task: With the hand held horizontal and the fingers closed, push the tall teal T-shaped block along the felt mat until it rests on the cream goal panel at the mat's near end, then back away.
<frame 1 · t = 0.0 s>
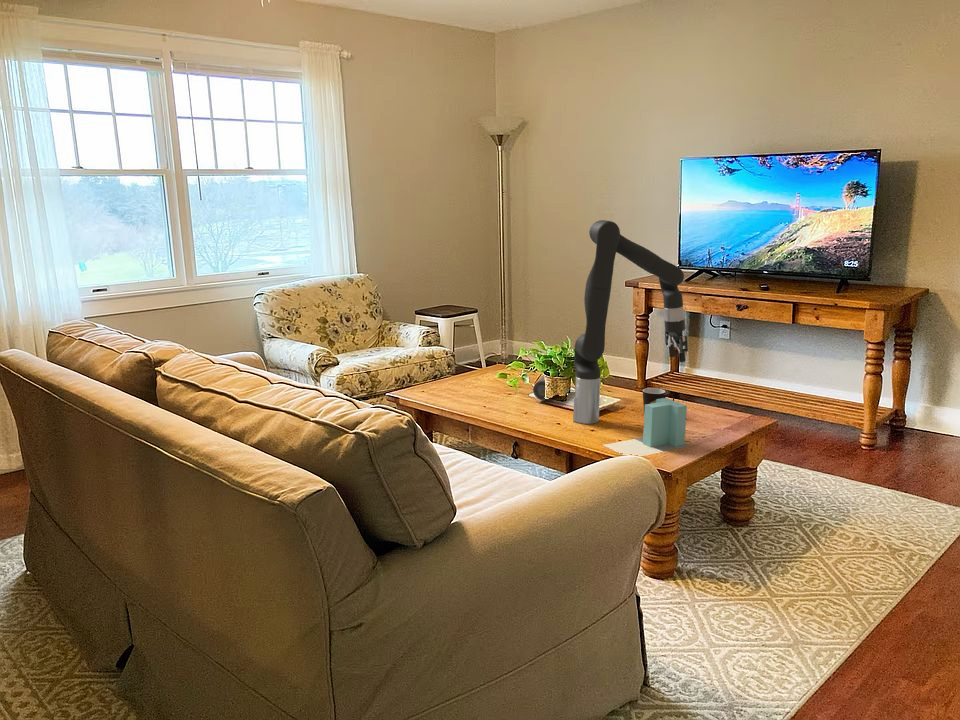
hand: (677, 359, 302), 22 cm above the table, tool pointing down, fingers open, 8 cm apart
bluetooth speaker: (550, 397, 333), on the table
felt mat: (650, 446, 271), on the table
tee block: (669, 441, 274), point 1 cm above the table, touching felt mat
coffee mug: (656, 416, 306), on the table
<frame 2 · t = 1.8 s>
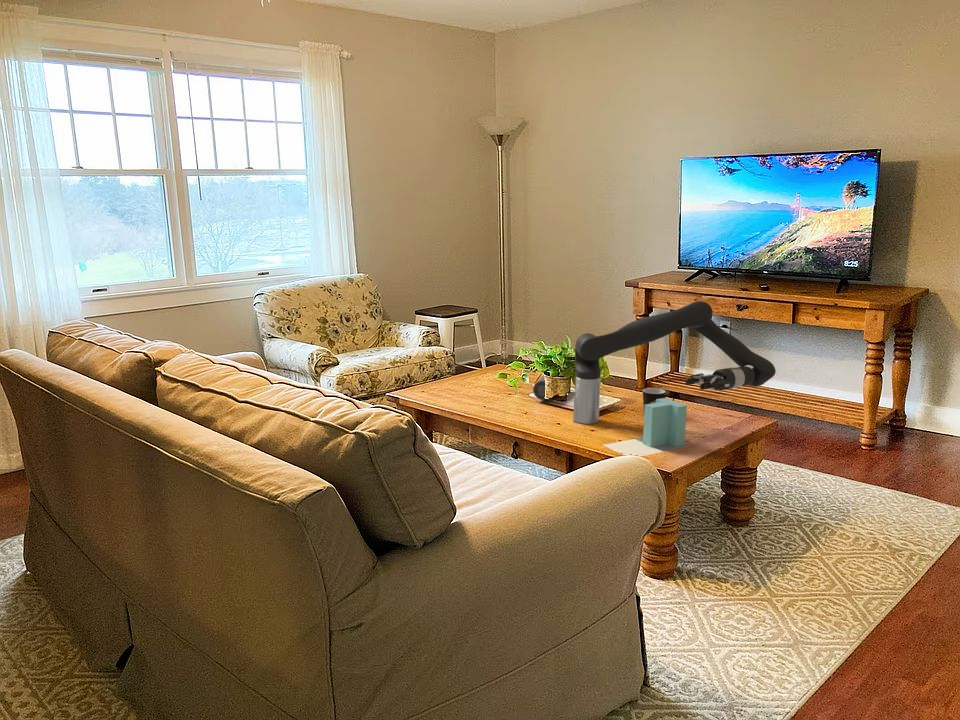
hand: (693, 384, 274), 20 cm above the table, tool horizontal, fingers open, 6 cm apart
nothing on the table moved.
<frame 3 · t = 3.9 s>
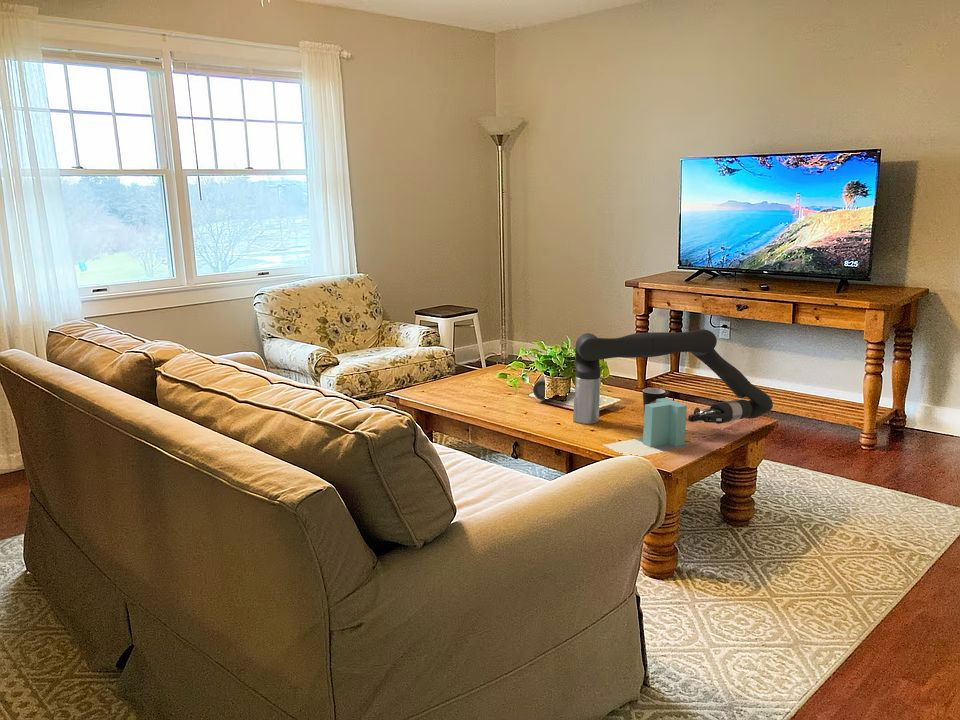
hand: (689, 418, 277), 8 cm above the table, tool horizontal, fingers closed
nothing on the table moved.
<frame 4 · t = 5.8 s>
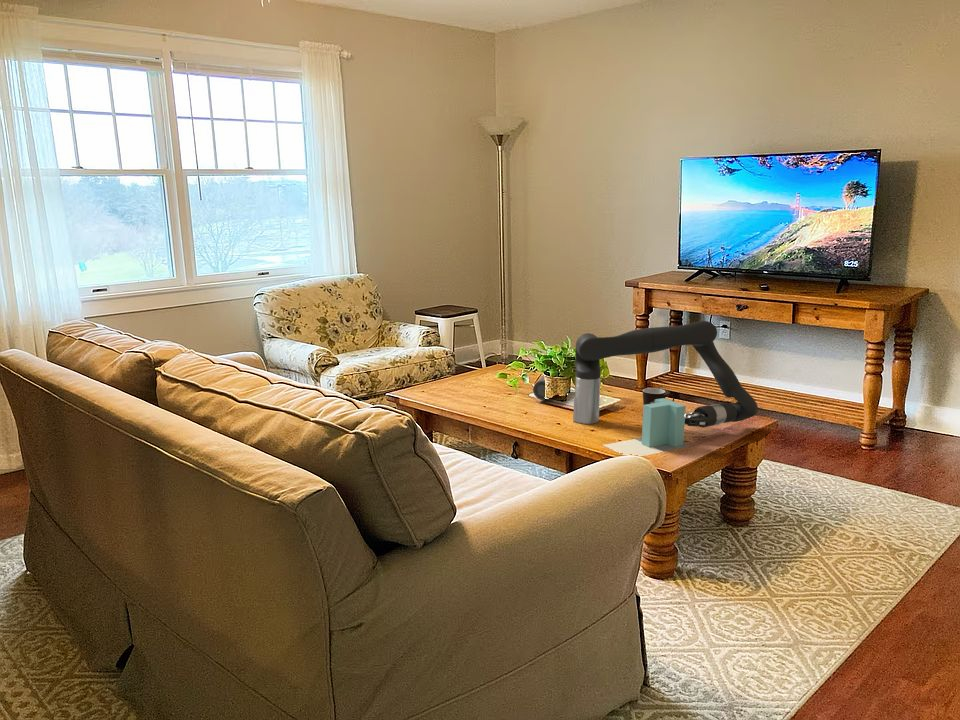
hand: (673, 422, 273), 7 cm above the table, tool horizontal, fingers closed
tee block: (667, 441, 274), point 1 cm above the table, touching gripper
everything else where it was.
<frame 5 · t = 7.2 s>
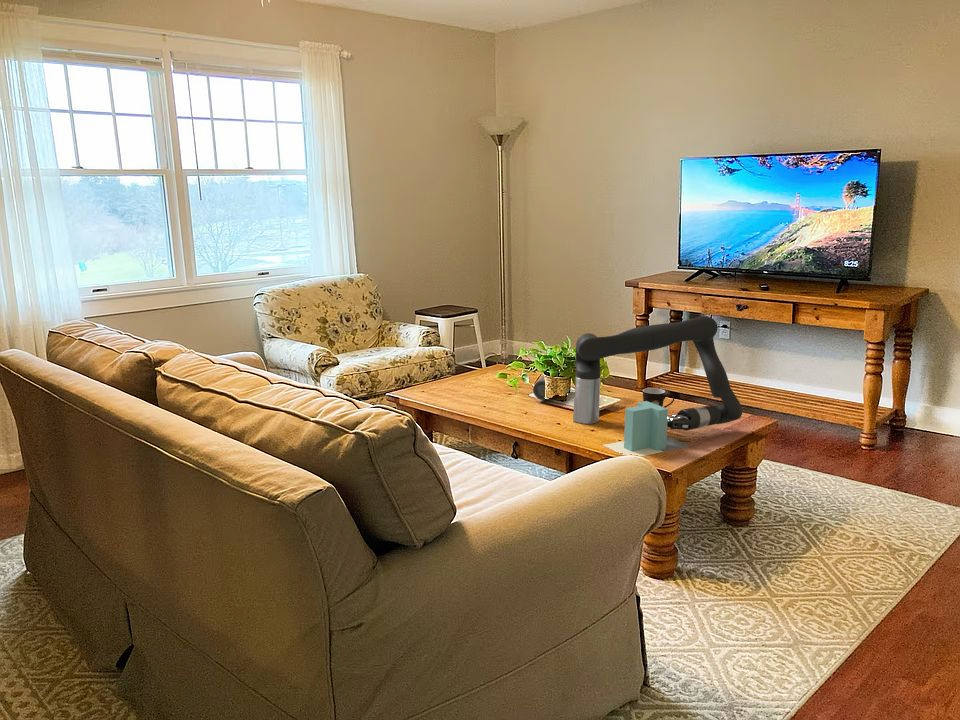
hand: (655, 425, 270), 8 cm above the table, tool horizontal, fingers closed
tee block: (650, 444, 270), point 1 cm above the table, touching gripper
everything else where it was.
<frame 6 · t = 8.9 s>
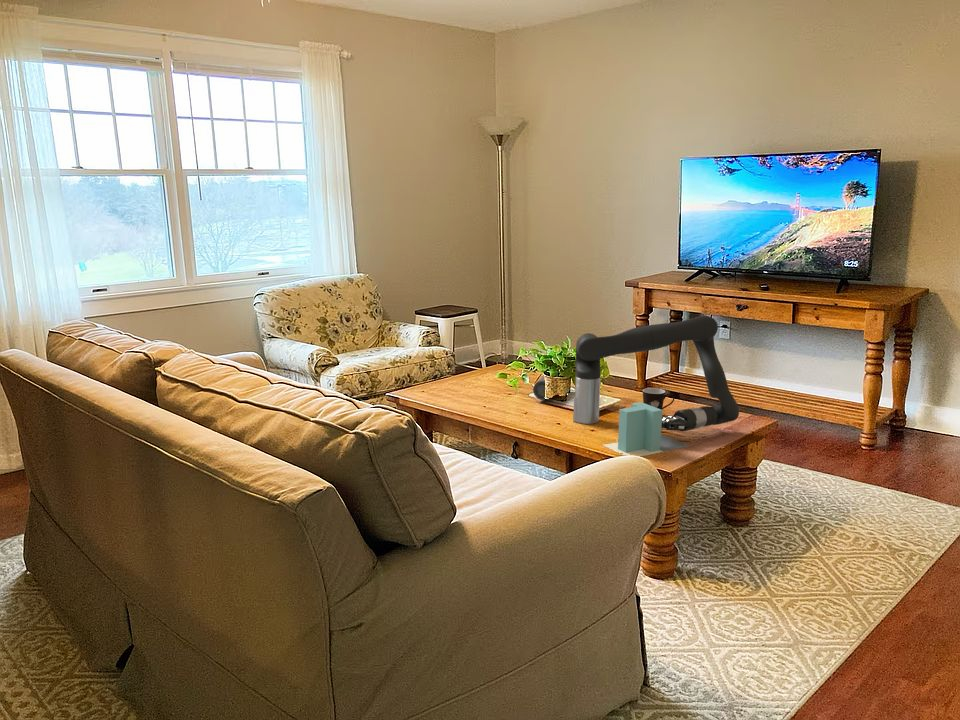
hand: (651, 426, 269), 7 cm above the table, tool horizontal, fingers closed
tee block: (644, 446, 269), point 1 cm above the table, touching felt mat
everything else where it was.
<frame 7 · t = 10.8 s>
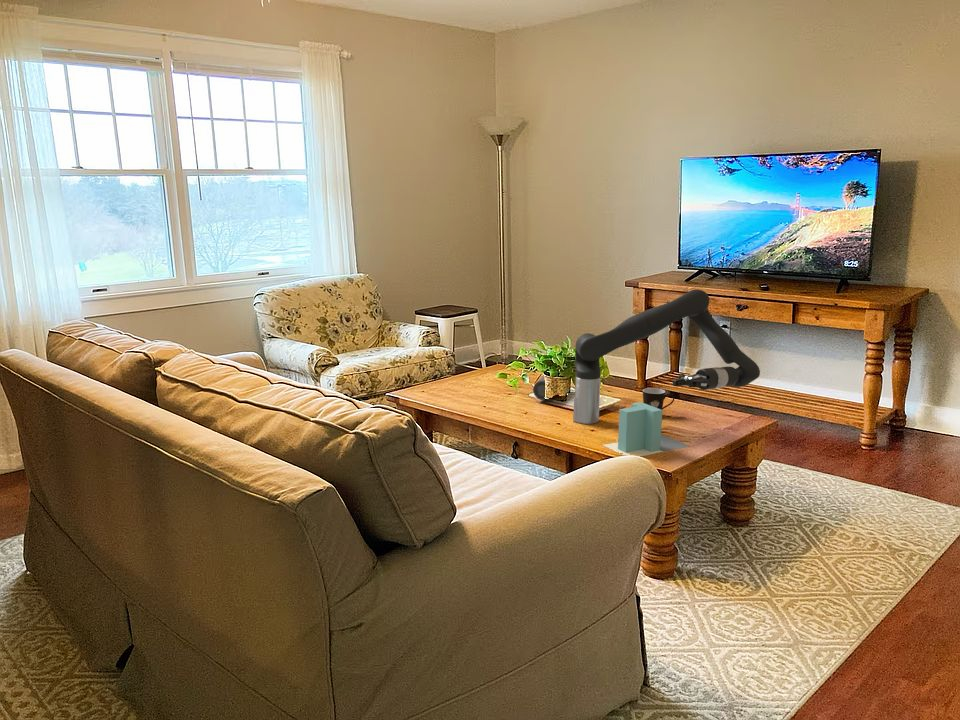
hand: (674, 383, 270), 22 cm above the table, tool horizontal, fingers closed
nothing on the table moved.
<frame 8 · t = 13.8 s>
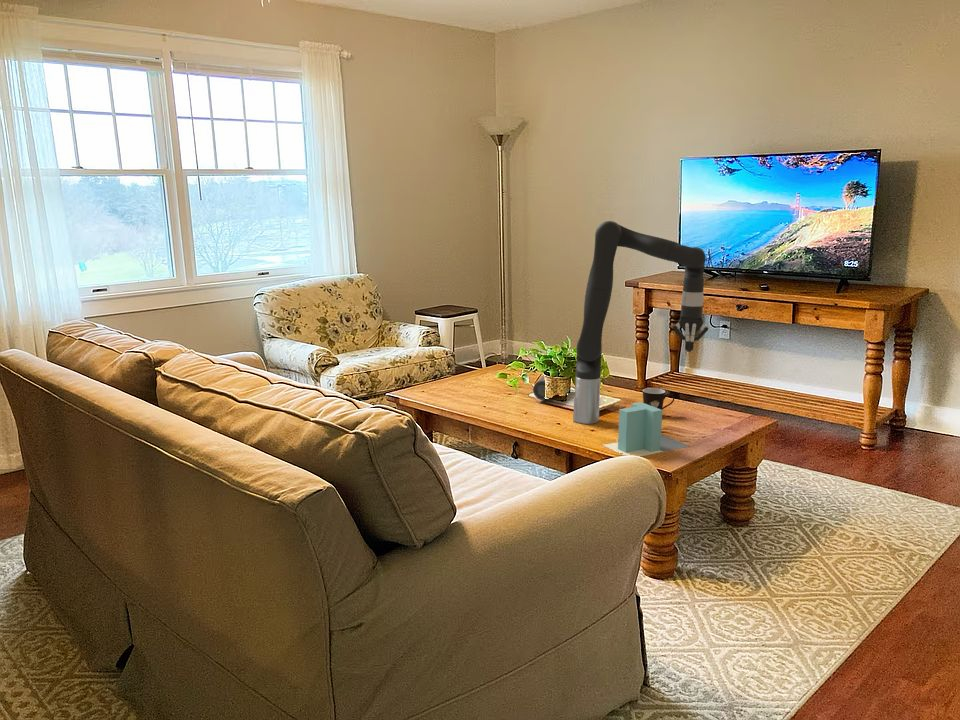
hand: (689, 351, 285), 29 cm above the table, tool pointing down, fingers closed
nothing on the table moved.
at the end: tee block inside the target area (0.7 cm from its centre), point 0.8 cm above the table; tee block tilted 0°; tee block moved 11.0 cm from its start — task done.
